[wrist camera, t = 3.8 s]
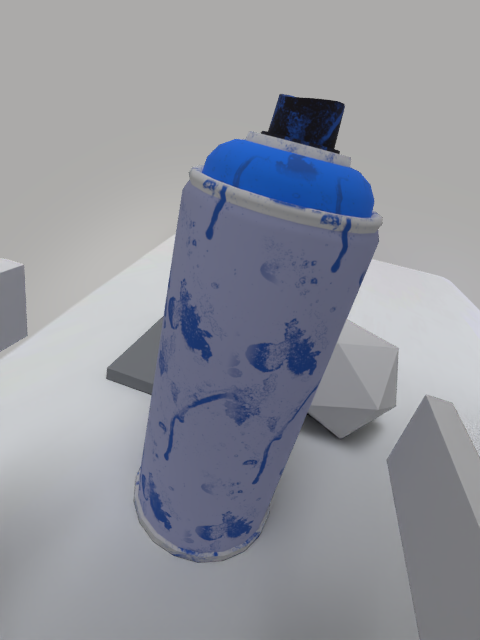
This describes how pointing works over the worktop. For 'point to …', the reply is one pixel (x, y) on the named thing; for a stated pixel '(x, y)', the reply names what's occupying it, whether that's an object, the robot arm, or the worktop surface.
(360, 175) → the aerosol can
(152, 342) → the mat
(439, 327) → the worktop surface
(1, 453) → the worktop surface
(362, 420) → the die
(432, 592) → the robot arm
